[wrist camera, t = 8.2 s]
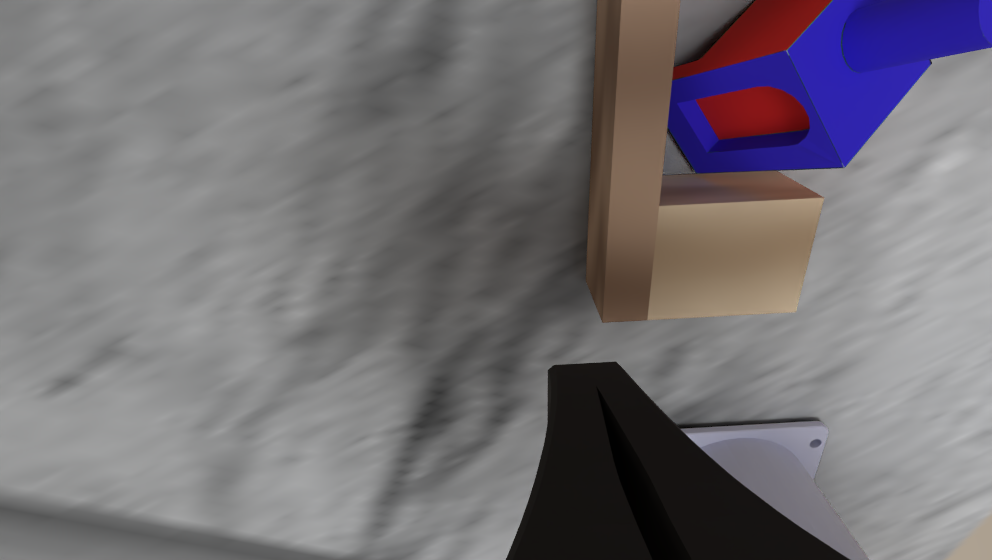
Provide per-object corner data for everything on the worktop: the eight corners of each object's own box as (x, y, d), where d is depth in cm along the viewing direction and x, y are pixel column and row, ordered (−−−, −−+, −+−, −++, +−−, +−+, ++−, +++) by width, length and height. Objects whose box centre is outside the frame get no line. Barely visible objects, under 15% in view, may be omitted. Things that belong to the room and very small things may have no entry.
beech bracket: (754, 272, 21) (795, 311, 18) (585, 281, 21) (602, 322, 18) (858, -250, 14) (949, -308, 11) (607, -240, 14) (639, -297, 11)
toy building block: (768, 94, 19) (1072, 36, 12) (695, 174, 19) (973, 164, 11) (722, 6, 18) (1033, -118, 11) (642, 89, 17) (918, 16, 10)
